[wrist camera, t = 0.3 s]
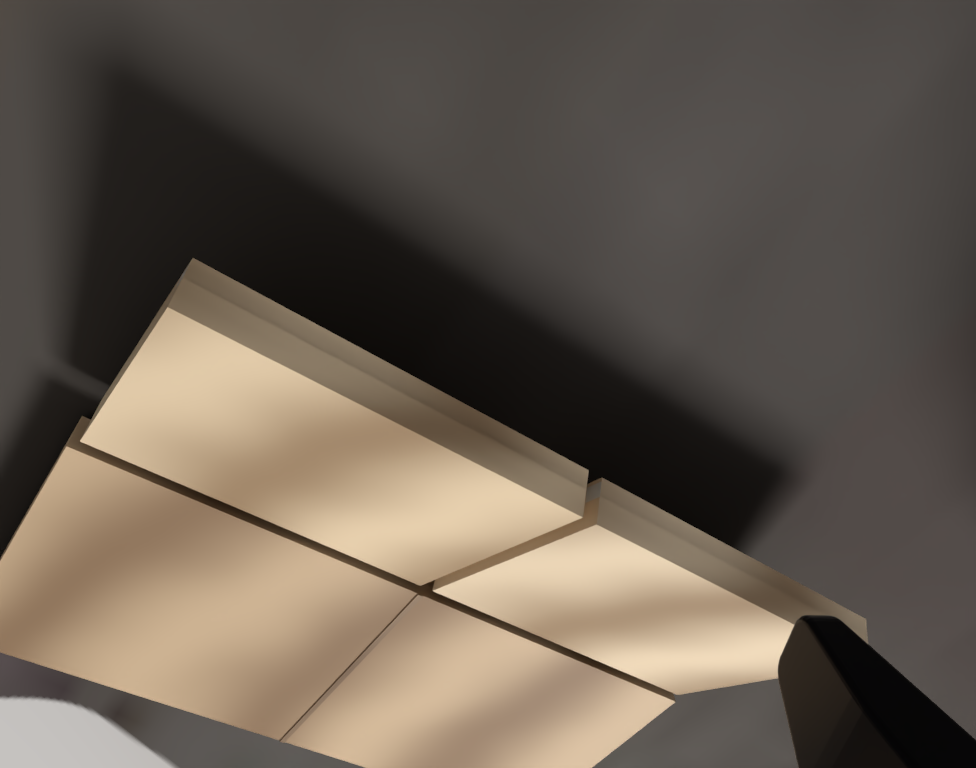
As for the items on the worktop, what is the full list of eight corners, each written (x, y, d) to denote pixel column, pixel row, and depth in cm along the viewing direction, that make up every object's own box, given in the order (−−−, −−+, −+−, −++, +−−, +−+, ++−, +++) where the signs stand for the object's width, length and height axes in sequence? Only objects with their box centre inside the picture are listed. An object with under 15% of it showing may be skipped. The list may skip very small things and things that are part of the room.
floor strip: (666, 670, 29) (675, 702, 28) (523, 787, 32) (527, 819, 31) (81, 415, 21) (65, 447, 20) (-27, 604, 25) (-45, 639, 24)
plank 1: (588, 470, 19) (583, 517, 19) (429, 546, 25) (420, 585, 24) (192, 257, 16) (167, 306, 15) (101, 399, 21) (79, 441, 20)
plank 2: (866, 619, 23) (869, 662, 23) (679, 658, 28) (677, 694, 28) (601, 477, 20) (596, 524, 19) (440, 551, 25) (432, 590, 24)
